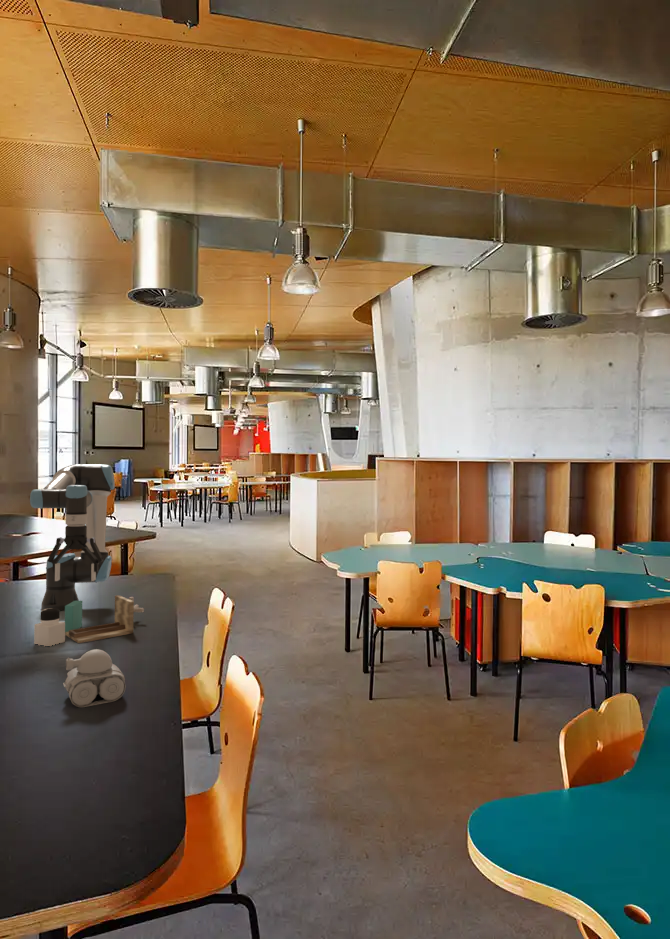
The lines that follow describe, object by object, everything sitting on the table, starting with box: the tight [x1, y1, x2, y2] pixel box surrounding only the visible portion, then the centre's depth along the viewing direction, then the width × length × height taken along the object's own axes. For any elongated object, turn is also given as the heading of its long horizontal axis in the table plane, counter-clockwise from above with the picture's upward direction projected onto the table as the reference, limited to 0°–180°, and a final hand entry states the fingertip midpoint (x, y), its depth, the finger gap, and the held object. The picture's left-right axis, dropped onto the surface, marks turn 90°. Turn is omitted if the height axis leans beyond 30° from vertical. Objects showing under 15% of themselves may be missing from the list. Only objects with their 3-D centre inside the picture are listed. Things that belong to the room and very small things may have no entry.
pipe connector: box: [128, 596, 145, 613], centre depth 234 cm, size 10×10×10 cm
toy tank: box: [62, 648, 126, 708], centre depth 156 cm, size 15×11×13 cm
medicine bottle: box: [33, 608, 66, 647], centre depth 205 cm, size 7×7×12 cm
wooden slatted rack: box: [65, 594, 135, 644], centre depth 217 cm, size 14×20×12 cm
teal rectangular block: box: [64, 600, 83, 632], centre depth 223 cm, size 3×9×10 cm, turn 3°
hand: (75, 580), depth 223 cm, fingers open, 13 cm apart
